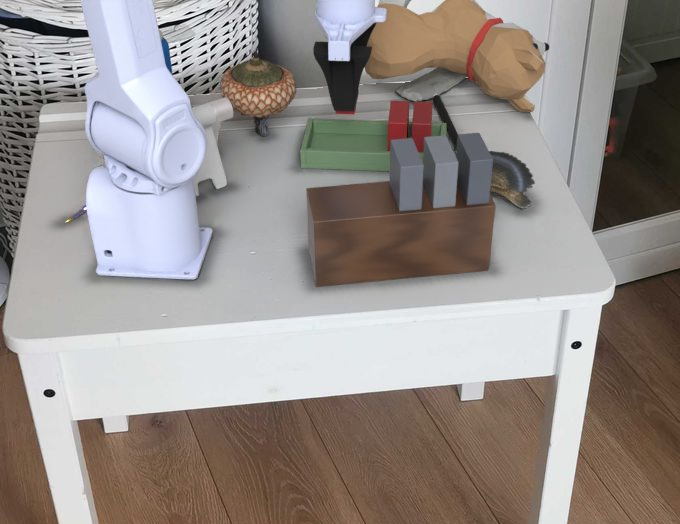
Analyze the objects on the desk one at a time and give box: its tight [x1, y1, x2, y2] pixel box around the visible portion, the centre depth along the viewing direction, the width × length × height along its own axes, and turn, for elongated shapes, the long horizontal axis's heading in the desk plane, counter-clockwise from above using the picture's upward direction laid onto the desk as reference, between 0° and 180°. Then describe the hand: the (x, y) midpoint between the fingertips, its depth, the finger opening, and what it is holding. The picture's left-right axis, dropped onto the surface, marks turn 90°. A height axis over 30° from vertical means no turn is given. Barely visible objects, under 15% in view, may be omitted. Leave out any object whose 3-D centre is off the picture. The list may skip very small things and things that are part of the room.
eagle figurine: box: [453, 150, 536, 210], centre depth 98 cm, size 8×7×9 cm
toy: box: [364, 0, 551, 113], centre depth 114 cm, size 10×24×20 cm
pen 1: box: [64, 204, 87, 224], centre depth 100 cm, size 14×1×1 cm, turn 132°
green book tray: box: [299, 117, 447, 172], centre depth 107 cm, size 15×7×2 cm, turn 85°
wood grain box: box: [305, 180, 496, 288], centre depth 90 cm, size 16×6×7 cm, turn 98°
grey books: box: [388, 132, 493, 211], centre depth 87 cm, size 8×5×4 cm, turn 98°
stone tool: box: [395, 67, 468, 102], centre depth 120 cm, size 14×1×5 cm
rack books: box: [387, 100, 434, 153], centre depth 105 cm, size 4×5×4 cm
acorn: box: [219, 50, 297, 137], centre depth 108 cm, size 8×8×10 cm
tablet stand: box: [191, 97, 234, 197], centre depth 101 cm, size 9×8×8 cm
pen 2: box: [432, 94, 459, 150], centre depth 110 cm, size 1×19×1 cm, turn 8°
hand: (346, 97), depth 104 cm, fingers closed on red book, 5 cm apart
